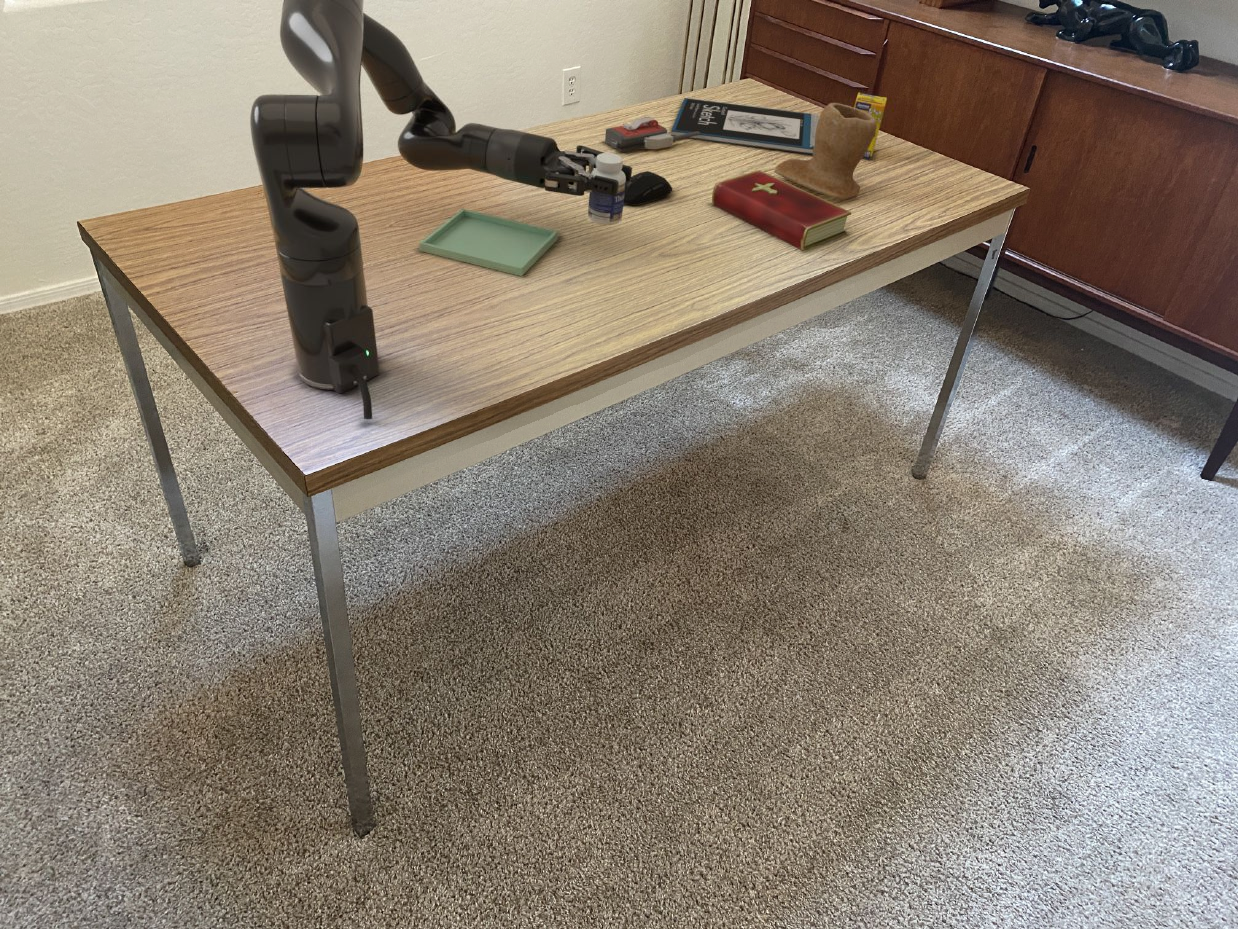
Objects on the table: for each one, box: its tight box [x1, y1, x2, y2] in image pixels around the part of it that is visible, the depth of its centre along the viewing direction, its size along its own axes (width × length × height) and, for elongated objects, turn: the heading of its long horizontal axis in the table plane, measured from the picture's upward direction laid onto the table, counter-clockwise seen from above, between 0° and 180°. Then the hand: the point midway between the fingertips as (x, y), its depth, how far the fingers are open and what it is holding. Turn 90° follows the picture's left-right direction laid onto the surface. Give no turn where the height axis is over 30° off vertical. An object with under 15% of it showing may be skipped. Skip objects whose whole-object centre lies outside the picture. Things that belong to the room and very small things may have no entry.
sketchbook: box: [670, 97, 820, 156], centre depth 191 cm, size 22×30×2 cm
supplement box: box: [853, 92, 888, 161], centre depth 181 cm, size 6×6×11 cm
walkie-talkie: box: [604, 116, 700, 153], centre depth 179 cm, size 9×4×20 cm
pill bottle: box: [587, 152, 626, 226], centre depth 137 cm, size 5×5×10 cm
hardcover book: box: [711, 169, 853, 252], centre depth 155 cm, size 12×21×4 cm, turn 42°
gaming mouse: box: [623, 170, 673, 206], centre depth 158 cm, size 6×15×4 cm, turn 133°
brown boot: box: [773, 102, 877, 200], centre depth 165 cm, size 15×12×15 cm
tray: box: [418, 208, 559, 277], centre depth 141 cm, size 17×14×1 cm
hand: (623, 181), depth 136 cm, fingers closed on pill bottle, 5 cm apart
